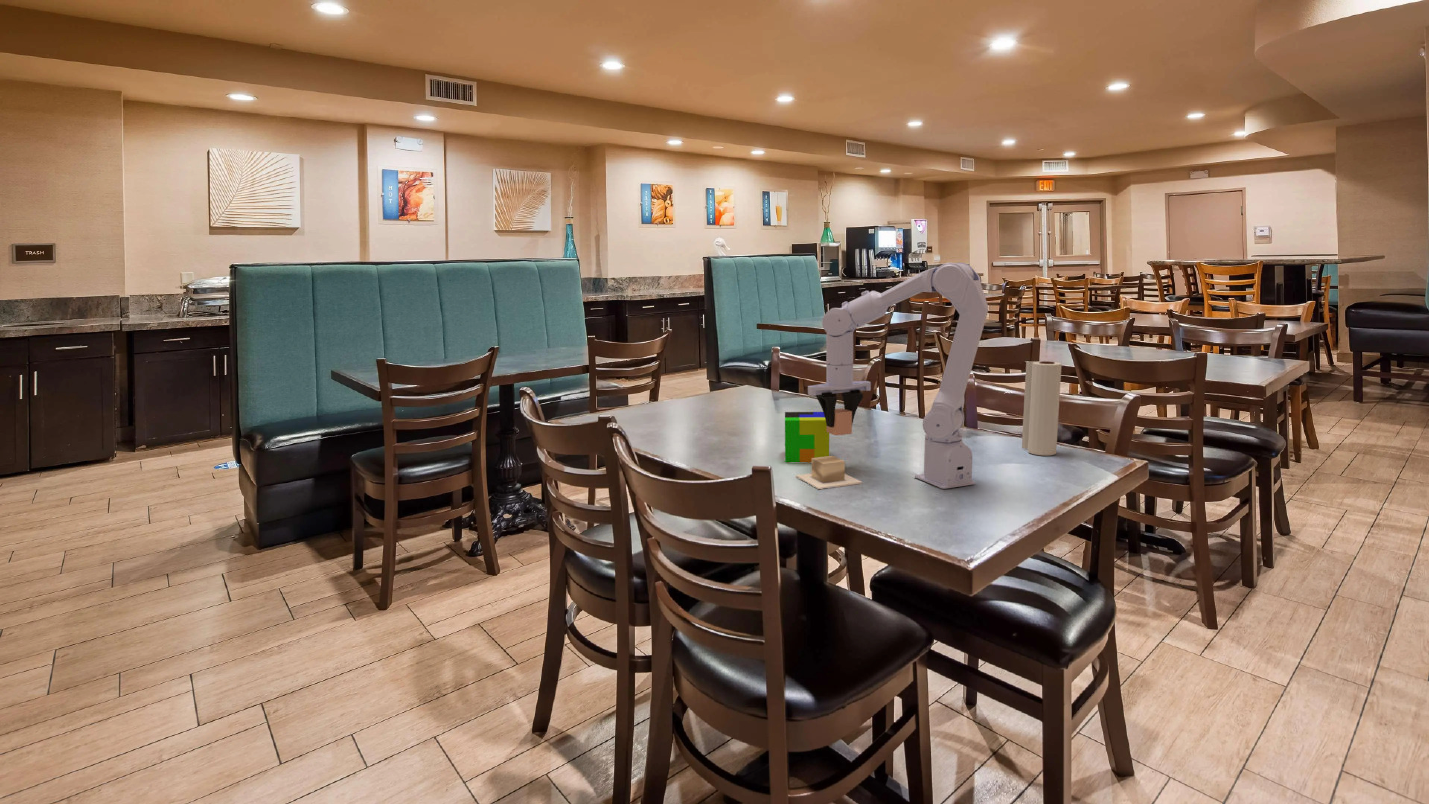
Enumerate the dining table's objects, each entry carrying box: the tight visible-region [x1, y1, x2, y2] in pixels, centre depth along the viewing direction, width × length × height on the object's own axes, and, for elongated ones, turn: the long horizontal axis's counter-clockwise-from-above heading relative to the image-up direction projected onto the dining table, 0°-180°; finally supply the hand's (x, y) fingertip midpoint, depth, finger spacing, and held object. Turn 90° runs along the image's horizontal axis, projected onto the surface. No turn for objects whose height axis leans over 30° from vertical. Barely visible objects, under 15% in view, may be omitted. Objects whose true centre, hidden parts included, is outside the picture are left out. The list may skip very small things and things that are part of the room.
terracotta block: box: [827, 407, 853, 436], centre depth 160 cm, size 4×4×5 cm
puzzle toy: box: [784, 411, 830, 463], centre depth 171 cm, size 10×10×10 cm
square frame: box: [795, 472, 863, 490], centre depth 153 cm, size 10×10×1 cm
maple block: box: [811, 455, 846, 483], centre depth 152 cm, size 5×5×4 cm
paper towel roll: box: [1021, 360, 1063, 456], centre depth 169 cm, size 7×6×21 cm
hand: (839, 425), depth 160 cm, fingers closed on terracotta block, 4 cm apart
